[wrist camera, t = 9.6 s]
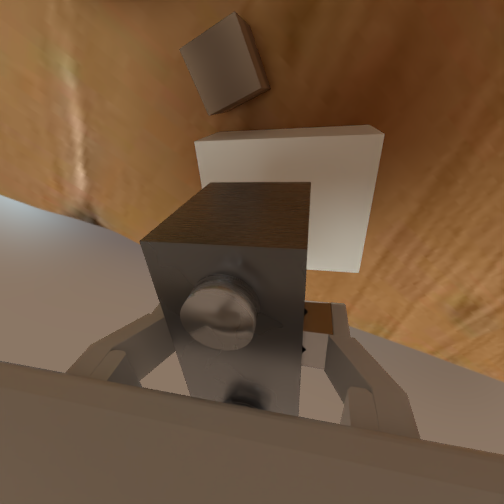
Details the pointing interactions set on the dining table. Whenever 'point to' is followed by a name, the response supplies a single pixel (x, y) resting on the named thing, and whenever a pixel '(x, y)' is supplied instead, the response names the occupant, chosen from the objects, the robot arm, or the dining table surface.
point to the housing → (236, 290)
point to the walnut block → (225, 65)
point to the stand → (307, 179)
